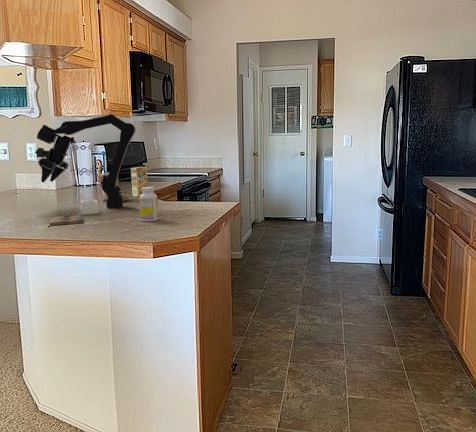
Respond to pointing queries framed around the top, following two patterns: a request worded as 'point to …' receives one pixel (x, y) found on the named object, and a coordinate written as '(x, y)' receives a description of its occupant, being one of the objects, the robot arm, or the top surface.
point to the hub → (66, 219)
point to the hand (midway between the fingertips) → (46, 181)
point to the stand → (90, 214)
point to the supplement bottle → (148, 205)
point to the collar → (89, 207)
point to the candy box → (139, 180)
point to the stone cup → (104, 192)
